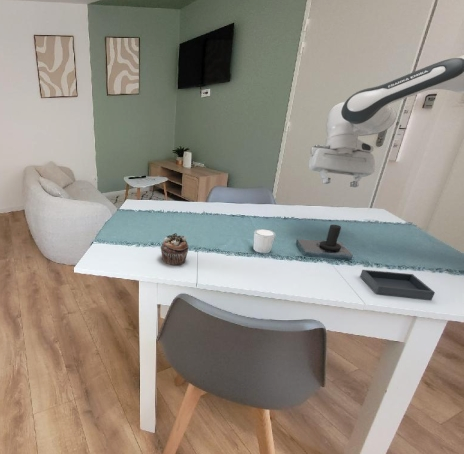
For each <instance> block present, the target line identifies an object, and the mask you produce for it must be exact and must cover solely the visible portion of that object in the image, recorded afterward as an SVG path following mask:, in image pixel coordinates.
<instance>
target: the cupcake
mask: <svg viewBox="0 0 464 454" xmlns="http://www.w3.org/2000/svg"><path fill="white" fill-rule="evenodd" d="M160 252H161V255H162V256H161V257H162V261H163V262H164V264H168V265H171V266H181V265H183V264H185V262H186V259H187V256H188V253H189V245H188V242H187V237H186V236H184V235H178V234H177V233H173V234H172V235H171V234H170V235H166V237H164V240H163V241H162V244H161V245H160Z"/></svg>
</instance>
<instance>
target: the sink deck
mask: <svg viewBox="0 0 464 454" xmlns="http://www.w3.org/2000/svg"><path fill="white" fill-rule="evenodd" d="M322 241H323V240H318V239H317V240H316V239H304V238H303V239H301V238H296V241H295V245H296V247H297V248H298V249H299V251H300V252H301V254H302V255H303V257H309V258H311V257H312V258H322V259H323V258H324V259H335V260H345V261H347V260H348V261H352V260H353V256H354V254H353V253H352V252H351V251H350V250H349V249H348V248H347V247H346V246H345V245H344V244H343V243H342V241H337V244H339V245H341V249H340V250H328V249H325V248H322V247H321V246H320V242H322Z"/></svg>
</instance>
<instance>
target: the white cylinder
mask: <svg viewBox="0 0 464 454" xmlns="http://www.w3.org/2000/svg"><path fill="white" fill-rule="evenodd" d="M275 238H276V232H274V231H273V230H270V229H266V228H258V229H255V230H254V231H253V248H252V249H253V250H254V251H255V252H257V253H261V254H269V253H270V252H271V250H272V247H273V244H274V240H275Z"/></svg>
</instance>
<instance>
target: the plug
mask: <svg viewBox="0 0 464 454" xmlns="http://www.w3.org/2000/svg"><path fill="white" fill-rule="evenodd" d="M341 229H342V226H341V225H339V224H330V225H329V228H328V233H327V235H326V239H325V240H321V241H322V242H320V246H321V247H322V248H325V249H328V250H340V249H341V245H339V244H337V242H338V240H339V236H340V232H341Z"/></svg>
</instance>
